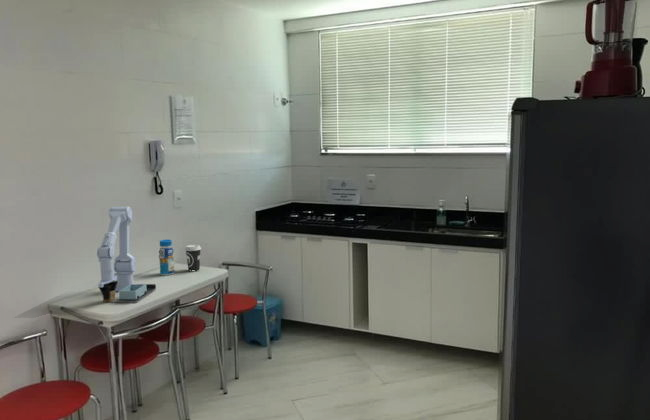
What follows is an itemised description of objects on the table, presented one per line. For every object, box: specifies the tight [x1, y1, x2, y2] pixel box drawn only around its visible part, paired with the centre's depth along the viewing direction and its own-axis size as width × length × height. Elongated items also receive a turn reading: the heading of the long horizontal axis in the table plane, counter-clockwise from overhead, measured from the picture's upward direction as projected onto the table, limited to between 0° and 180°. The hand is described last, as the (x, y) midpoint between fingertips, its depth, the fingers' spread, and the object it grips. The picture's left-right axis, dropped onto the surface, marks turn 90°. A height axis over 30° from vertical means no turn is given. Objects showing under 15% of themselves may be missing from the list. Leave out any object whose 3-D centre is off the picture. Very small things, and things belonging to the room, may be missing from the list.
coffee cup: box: [184, 244, 202, 272], centre depth 310 cm, size 10×10×15 cm
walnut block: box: [102, 291, 116, 303], centre depth 251 cm, size 4×4×4 cm
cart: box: [118, 283, 147, 299], centre depth 255 cm, size 10×12×4 cm
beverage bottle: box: [158, 239, 175, 276], centre depth 302 cm, size 8×8×20 cm
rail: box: [116, 283, 157, 304], centre depth 259 cm, size 10×22×3 cm, turn 175°
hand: (109, 297), depth 251 cm, fingers closed on walnut block, 4 cm apart
